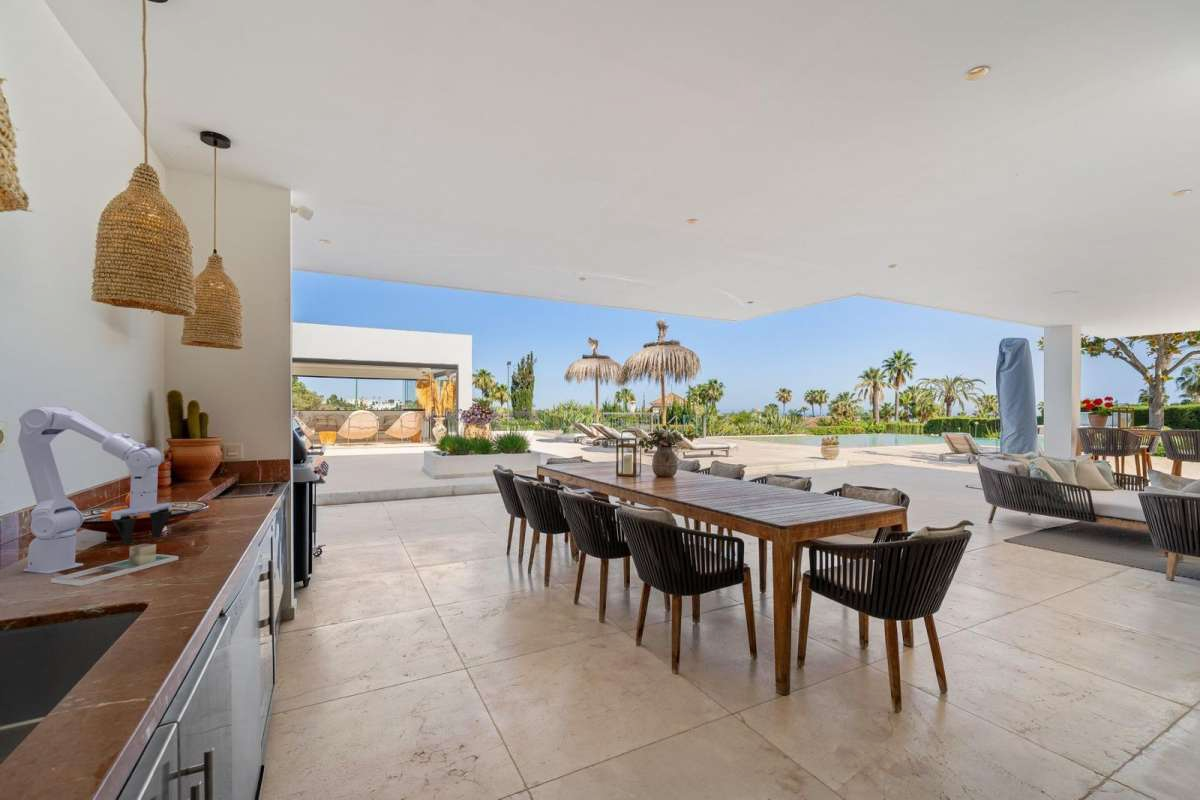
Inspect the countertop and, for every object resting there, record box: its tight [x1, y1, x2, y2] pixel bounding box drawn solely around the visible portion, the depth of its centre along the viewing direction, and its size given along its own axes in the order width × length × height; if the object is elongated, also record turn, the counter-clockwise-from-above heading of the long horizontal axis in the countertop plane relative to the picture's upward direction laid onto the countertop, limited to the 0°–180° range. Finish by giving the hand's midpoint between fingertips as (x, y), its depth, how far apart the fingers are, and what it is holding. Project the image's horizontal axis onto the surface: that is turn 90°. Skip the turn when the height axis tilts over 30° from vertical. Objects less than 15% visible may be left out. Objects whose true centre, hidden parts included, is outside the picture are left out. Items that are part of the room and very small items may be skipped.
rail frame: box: [50, 553, 179, 587], centre depth 141 cm, size 10×24×1 cm, turn 167°
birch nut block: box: [128, 543, 157, 566], centre depth 146 cm, size 4×4×5 cm
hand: (142, 540), depth 146 cm, fingers open, 7 cm apart
